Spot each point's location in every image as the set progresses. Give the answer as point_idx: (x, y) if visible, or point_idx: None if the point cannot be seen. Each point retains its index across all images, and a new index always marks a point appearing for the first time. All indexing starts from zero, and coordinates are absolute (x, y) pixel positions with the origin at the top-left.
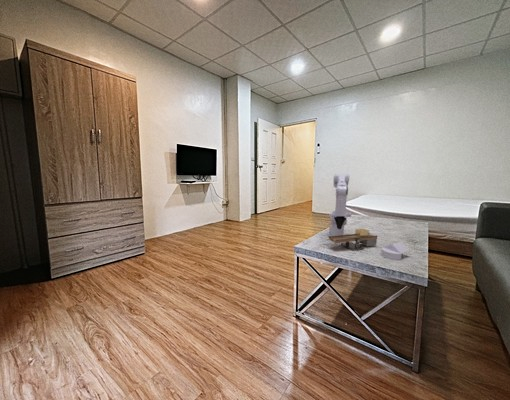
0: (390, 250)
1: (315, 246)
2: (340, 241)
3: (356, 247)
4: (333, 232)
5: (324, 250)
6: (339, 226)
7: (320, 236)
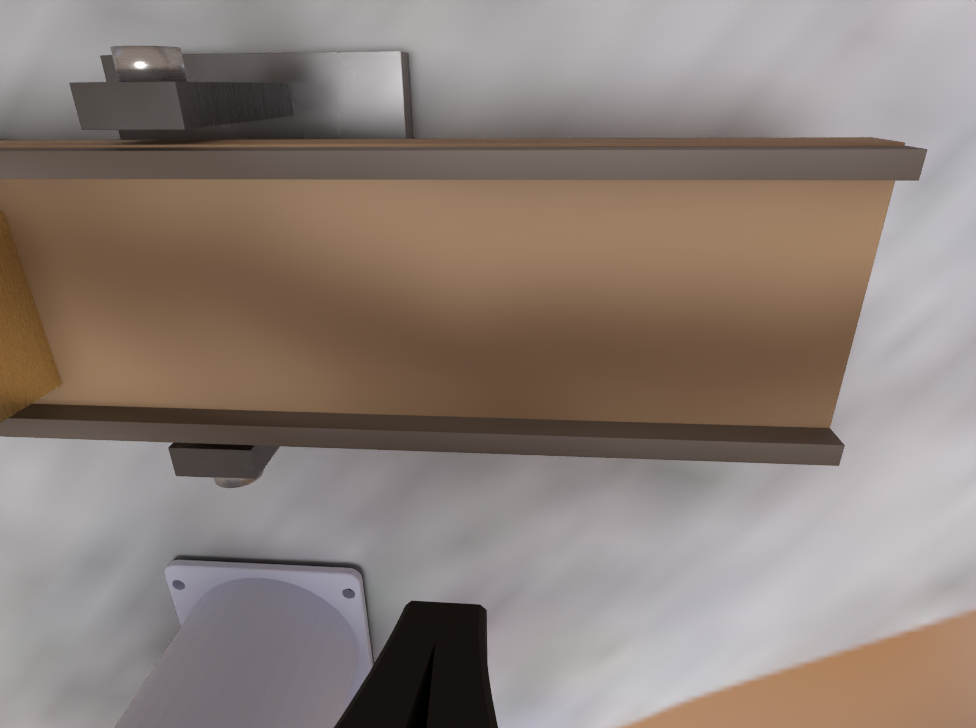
0: None
1: (924, 442)
2: (731, 139)
3: (272, 81)
4: (333, 722)
5: (938, 238)
6: (489, 690)
7: (506, 725)
